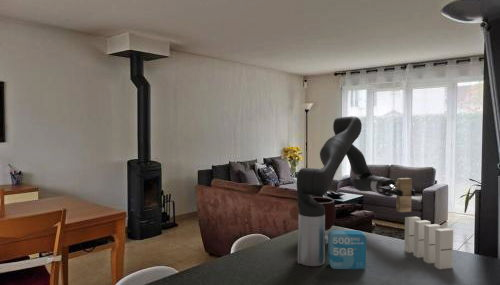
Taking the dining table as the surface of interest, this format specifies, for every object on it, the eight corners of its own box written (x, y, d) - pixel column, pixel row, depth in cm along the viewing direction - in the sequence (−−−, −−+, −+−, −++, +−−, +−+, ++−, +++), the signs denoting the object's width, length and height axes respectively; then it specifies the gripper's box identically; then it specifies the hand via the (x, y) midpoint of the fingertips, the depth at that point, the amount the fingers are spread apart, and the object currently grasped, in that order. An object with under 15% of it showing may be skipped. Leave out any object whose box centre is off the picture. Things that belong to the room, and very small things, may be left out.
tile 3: (413, 255, 139) (414, 220, 138) (425, 254, 140) (426, 220, 139) (417, 257, 136) (418, 222, 136) (429, 256, 137) (430, 221, 137)
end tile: (434, 266, 128) (435, 229, 127) (447, 265, 129) (447, 228, 128) (439, 269, 126) (440, 231, 125) (452, 267, 127) (453, 230, 126)
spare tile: (396, 210, 149) (396, 178, 148) (407, 210, 150) (408, 177, 149) (400, 212, 146) (400, 179, 146) (411, 211, 147) (411, 178, 147)
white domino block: (423, 260, 133) (424, 224, 133) (435, 259, 134) (436, 223, 134) (428, 263, 131) (429, 226, 130) (440, 262, 132) (441, 225, 131)
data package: (330, 269, 126) (330, 234, 125) (327, 264, 131) (328, 230, 130) (366, 269, 126) (366, 234, 125) (362, 264, 130) (362, 230, 130)
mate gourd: (342, 240, 156) (342, 193, 155) (321, 247, 147) (321, 197, 146) (313, 232, 168) (313, 188, 167) (292, 238, 159) (292, 192, 158)
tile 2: (404, 250, 144) (404, 217, 143) (415, 249, 145) (416, 216, 144) (408, 252, 142) (409, 218, 141) (419, 251, 143) (420, 218, 142)
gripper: (368, 178, 160) (392, 184, 143) (398, 177, 163) (424, 183, 146) (368, 195, 160) (391, 204, 144) (398, 194, 163) (424, 202, 147)
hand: (408, 193), depth 145 cm, fingers closed on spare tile, 5 cm apart
